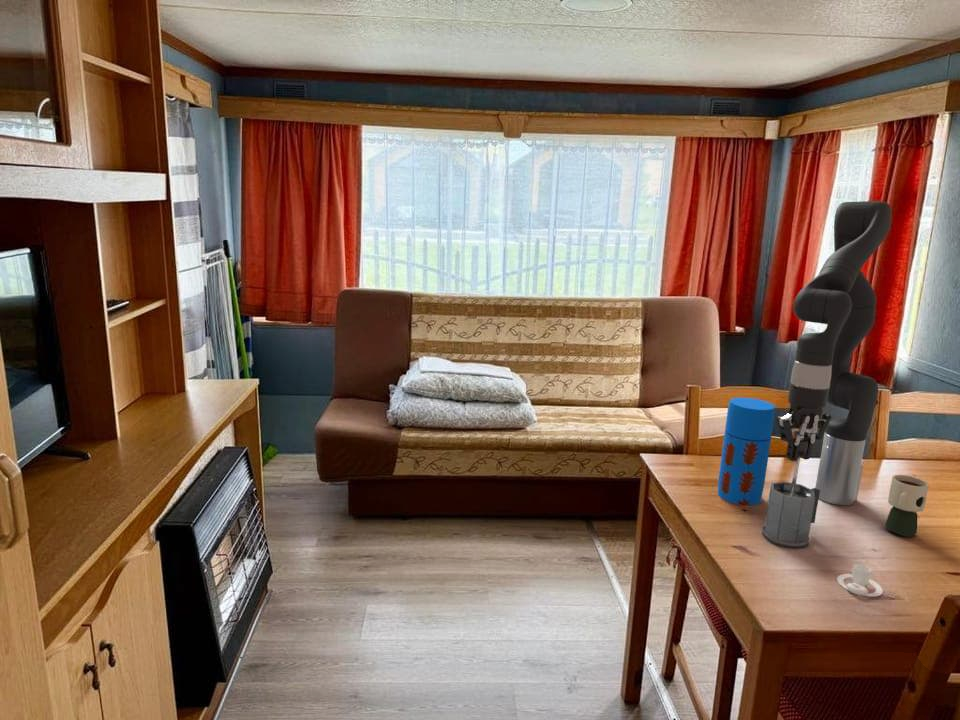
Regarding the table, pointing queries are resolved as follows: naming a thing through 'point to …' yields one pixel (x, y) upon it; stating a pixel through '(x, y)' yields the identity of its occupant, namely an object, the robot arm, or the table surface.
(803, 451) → the plunger
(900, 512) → the character mug
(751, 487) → the thermos
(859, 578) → the teacup and saucer
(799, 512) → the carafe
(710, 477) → the table surface
